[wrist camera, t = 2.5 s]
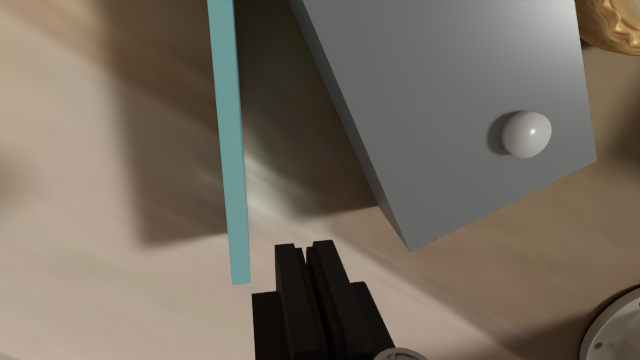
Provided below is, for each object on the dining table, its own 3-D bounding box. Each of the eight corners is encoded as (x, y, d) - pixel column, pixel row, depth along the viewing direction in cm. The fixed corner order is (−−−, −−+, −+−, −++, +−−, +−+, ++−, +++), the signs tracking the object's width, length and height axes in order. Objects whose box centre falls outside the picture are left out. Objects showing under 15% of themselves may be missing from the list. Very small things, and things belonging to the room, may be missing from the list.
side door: (250, 230, 28) (252, 283, 23) (232, 232, 28) (230, 285, 23) (227, -127, 20) (223, -173, 15) (202, -128, 20) (188, -175, 15)
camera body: (530, 131, 29) (608, 165, 23) (378, 206, 29) (415, 260, 23) (441, -275, 20) (534, -403, 13) (216, -160, 20) (206, -235, 14)
